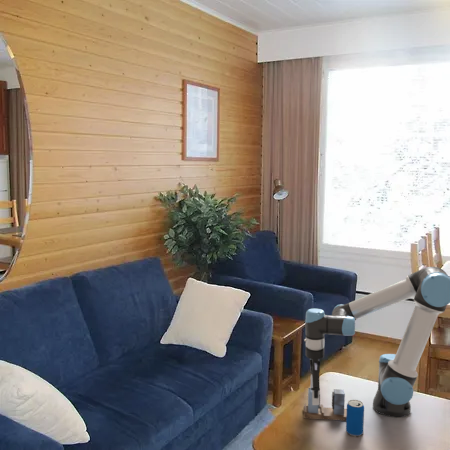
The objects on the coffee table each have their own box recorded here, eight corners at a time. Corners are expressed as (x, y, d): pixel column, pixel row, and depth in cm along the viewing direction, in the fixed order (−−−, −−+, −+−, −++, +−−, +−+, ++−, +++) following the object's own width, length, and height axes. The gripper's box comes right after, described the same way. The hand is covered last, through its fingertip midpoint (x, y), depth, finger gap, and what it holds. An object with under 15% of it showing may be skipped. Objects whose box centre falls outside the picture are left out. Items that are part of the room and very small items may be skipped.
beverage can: (360, 438, 192) (361, 408, 191) (343, 434, 196) (344, 404, 194) (365, 431, 198) (366, 401, 196) (349, 426, 201) (350, 397, 199)
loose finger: (308, 412, 209) (308, 392, 207) (307, 408, 212) (308, 387, 211) (319, 413, 208) (320, 392, 207) (319, 408, 212) (319, 388, 211)
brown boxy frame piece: (347, 412, 212) (348, 388, 211) (349, 420, 205) (350, 396, 204) (303, 409, 214) (304, 385, 213) (304, 418, 207) (304, 393, 206)
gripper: (304, 336, 219) (304, 383, 222) (306, 358, 195) (306, 411, 197) (321, 336, 219) (321, 384, 221) (326, 359, 194) (326, 412, 197)
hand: (314, 397), depth 209 cm, fingers open, 13 cm apart
